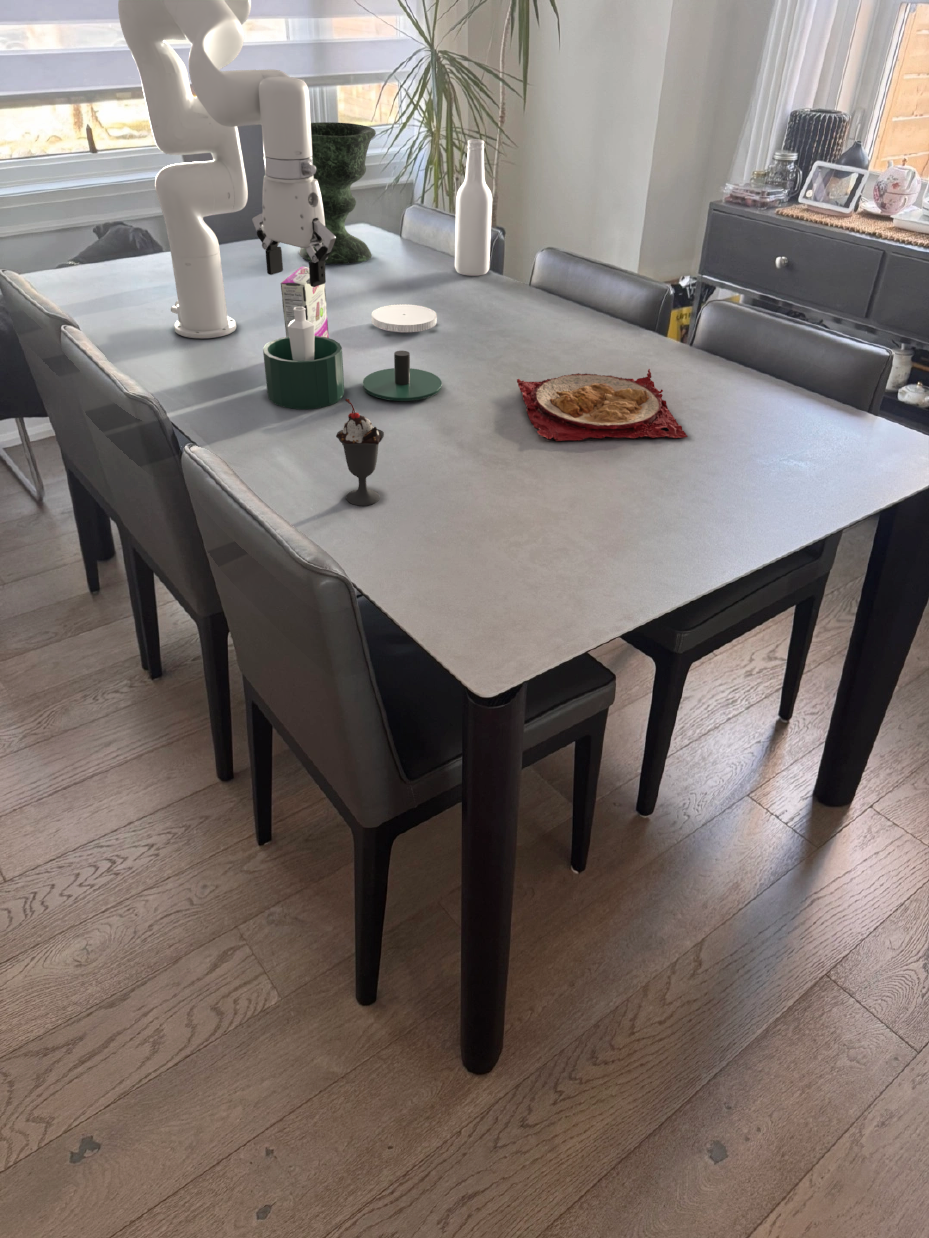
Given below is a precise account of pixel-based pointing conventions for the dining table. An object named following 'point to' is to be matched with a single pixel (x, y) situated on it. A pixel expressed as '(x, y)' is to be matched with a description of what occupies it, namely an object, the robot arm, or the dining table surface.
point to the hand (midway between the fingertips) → (296, 279)
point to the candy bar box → (305, 301)
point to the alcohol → (473, 216)
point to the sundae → (360, 454)
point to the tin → (304, 374)
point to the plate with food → (598, 407)
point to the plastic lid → (404, 318)
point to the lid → (402, 381)
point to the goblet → (340, 183)
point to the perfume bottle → (301, 336)
